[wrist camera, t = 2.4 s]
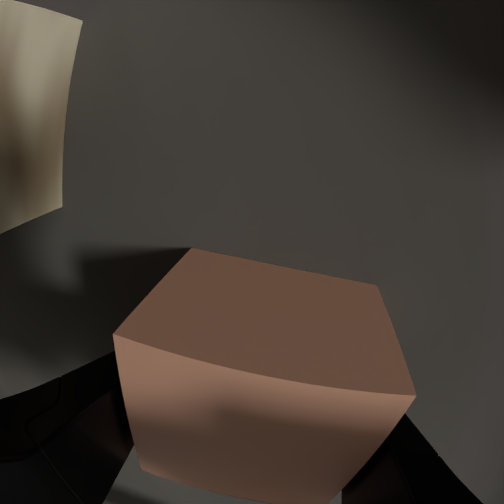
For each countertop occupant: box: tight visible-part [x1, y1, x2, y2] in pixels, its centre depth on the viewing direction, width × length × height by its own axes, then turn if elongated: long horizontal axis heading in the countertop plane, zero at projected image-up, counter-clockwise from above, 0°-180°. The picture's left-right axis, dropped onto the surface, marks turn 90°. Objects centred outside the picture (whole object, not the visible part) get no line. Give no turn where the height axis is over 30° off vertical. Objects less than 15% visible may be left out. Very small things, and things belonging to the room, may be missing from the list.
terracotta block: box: [113, 248, 416, 504], centre depth 7 cm, size 5×5×4 cm
